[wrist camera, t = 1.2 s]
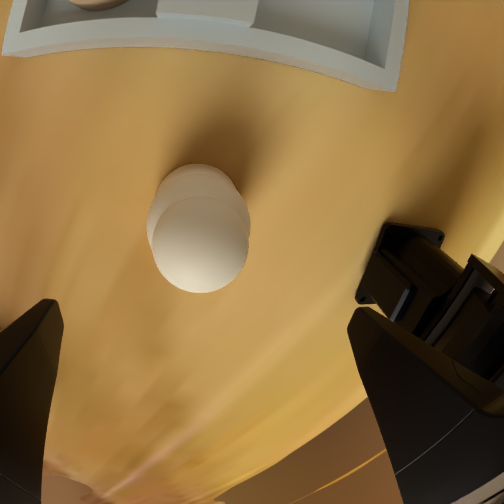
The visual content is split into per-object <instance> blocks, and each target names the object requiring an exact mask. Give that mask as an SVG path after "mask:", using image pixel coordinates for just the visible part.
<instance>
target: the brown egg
mask: <svg viewBox="0 0 504 504" xmlns="http://www.w3.org/2000/svg"><path fill="white" fill-rule="evenodd" d="M68 1H70V2H71V3H73V4H74V5H76V6H77V7H79V8H81V9H84V10H87V11H104V10H108V9H112V8H115V7H118V6H120V5H122V4H124V3H126V2H128V1H130V0H68Z"/></svg>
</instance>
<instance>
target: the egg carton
mask: <svg viewBox="0 0 504 504" xmlns="http://www.w3.org/2000/svg"><path fill="white" fill-rule="evenodd" d="M409 1H410V0H130V1H128V2H126V3H124V4H122V5H120V6H118V7H115V8H112V9H108V10H104V11H87V10H84V9H81V8H79V7H77V6H76V5H74V4H73V3H71V2H70V1H68V0H14V1H13V5H12V8H11V12H10V16H9V20H8V24H7V28H6V33H5V37H4V42H3V48H2V53H1V55H6V56H17V57H32V56H37V55H43V54H49V53H56V52H63V51H72V50H81V49H93V48H109V47H165V48H182V49H194V50H204V51H213V52H221V53H228V54H235V55H241V56H247V57H253V58H258V59H263V60H268V61H273V62H277V63H282V64H286V65H290V66H294V67H298V68H302V69H306V70H310V71H313V72H317V73H320V74H324V75H327V76H330V77H334V78H337V79H340V80H343V81H346V82H349V83H352V84H355V85H357V86H360V87H363V88H366V89H372V90H382V91H391V92H396V88H397V83H398V78H399V73H400V67H401V61H402V55H403V49H404V42H405V35H406V28H407V20H408V11H409Z"/></svg>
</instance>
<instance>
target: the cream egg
mask: <svg viewBox="0 0 504 504" xmlns="http://www.w3.org/2000/svg"><path fill="white" fill-rule="evenodd" d="M249 235H250V216H249V212H248V209H247V206H246V203H245V201H244V199H243V198H242V196H241V195H240V194H239V192H238V191H237V190H236V188H235V186H234V184H233V182H232V181H231V179H230V178H229V177H228V176H227V175H226V174H225V173H224V172H222V171H221V170H219V169H218V168H215V167H213V166H210V165H207V164H188V165H184V166H182V167H179V168H177V169H175V170H173V171H172V172H171V173H169V174H168V175H167V176H166V177H165V178H164V179H163V181H162V182H161V183H160V185H159V187H158V189H157V192H156V195H155V198H154V200H153V202H152V204H151V206H150V209H149V212H148V216H147V236H148V240H149V244H150V246H151V248H152V252H153V256H154V260H155V263H156V265H157V267H158V269H159V270H160V272H161V273H162V275H163V276H164V277H165V278H166V279H167V280H168V281H169V282H170V283H172V284H173V285H175V286H176V287H178V288H180V289H183V290H185V291H188V292H193V293H207V292H212V291H215V290H218V289H220V288H222V287H224V286H226V285H227V284H229V283H230V282H231V281H232V280H234V279H235V278H236V276H237V275H238V274H239V273H240V271H241V269H242V268H243V266H244V264H245V261H246V258H247V254H248V248H249V241H248V239H249Z"/></svg>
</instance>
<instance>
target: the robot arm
mask: <svg viewBox="0 0 504 504" xmlns="http://www.w3.org/2000/svg"><path fill="white" fill-rule="evenodd" d="M389 229H390V230H389ZM388 230H389V232H388ZM444 237H445V235H444V233H443V232H442V231H440V230H436V229H430V228H424V227H418V226H412V225H405V224H398V223H392V222H387V223H386V224H384V225H383V227H382V229H381V232H380V235H379V238H378V240H377V243H376V246H375V248H374V251H373V254H372V256H371V259H370V261H369V264H368V267H367V269H366V272H365V274H364V276H363V279H362V281H361V284H360V286H359V288H358V291H357V293H356V296H355V300H356V302H357V303H358V304H377V305H378V306H379V308H380V309H381V310H382V312H383V313H384V314H385V316H386V317H387V318H386V317H384V316H383V315H381V314H380V313H378V312H376V311H375V310H373V309H372V308H370V307H358V308H357V309H356V310H355V311H354V313H353V316H352V318H351V320H350V322H349V324H348V327H347V333H348V336H349V340H350V343H351V347H352V350H353V354H354V358H355V361H356V365H357V368H358V372H359V374H360V377H361V380H362V382H363V385H364V388H365V390H366V393H367V396H368V398H369V401H370V404H371V407H372V409H373V412H374V414H375V417H376V420H377V423H378V426H379V428H380V432H381V434H382V437H383V440H384V443H385V446H386V449H387V452H388V455H389V458H390V461H391V464H392V467H393V470H394V473H395V477H396V480H397V483H398V487H399V490H400V493H401V497H402V500H403V503H404V504H504V274H503V273H502V272H501V271H499V270H498V269H497V268H496V267H494V266H492V265H491V264H489V263H487V262H486V261H484V260H482V259H480V258H479V257H477V256H475V255H473V254H471V256H470V257H469V259H468V261H467V262H468V264H467V265H466V267H465V269H463V268H462V267H461V266H460V265H459V264H458V263H457V262H455V261H454V260H453V259H452V258H451V257H450V256H448V255H447V254H446V253H445V252H444V251H442V250H441V249H440V247H441V244H442V242H443V240H444ZM493 288H494V289H495V290H494V291H493V292H492V290H493ZM491 292H492V294H490V293H491ZM63 329H64V323H63V319H62V315H61V312H60V308H59V304H58V302H57V301H56V300H54V299H43V300H41V301H40V302H38V303H37V304H36V305H35V306H33V307H32V308H31V309H29V310H28V311H27V312H25V313H24V314H23V315H22V316H20V317H19V318H18V319H17V320H15V321H14V322H13V323H12V324H10V325H9V326H8V327H7V328H5V329H4V330H3V331H2V332H1V333H0V504H41V484H42V468H43V457H44V447H45V439H46V432H47V425H48V418H49V412H50V407H51V401H52V396H53V391H54V386H55V382H56V377H57V370H58V363H59V355H60V348H61V342H62V336H63Z"/></svg>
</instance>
